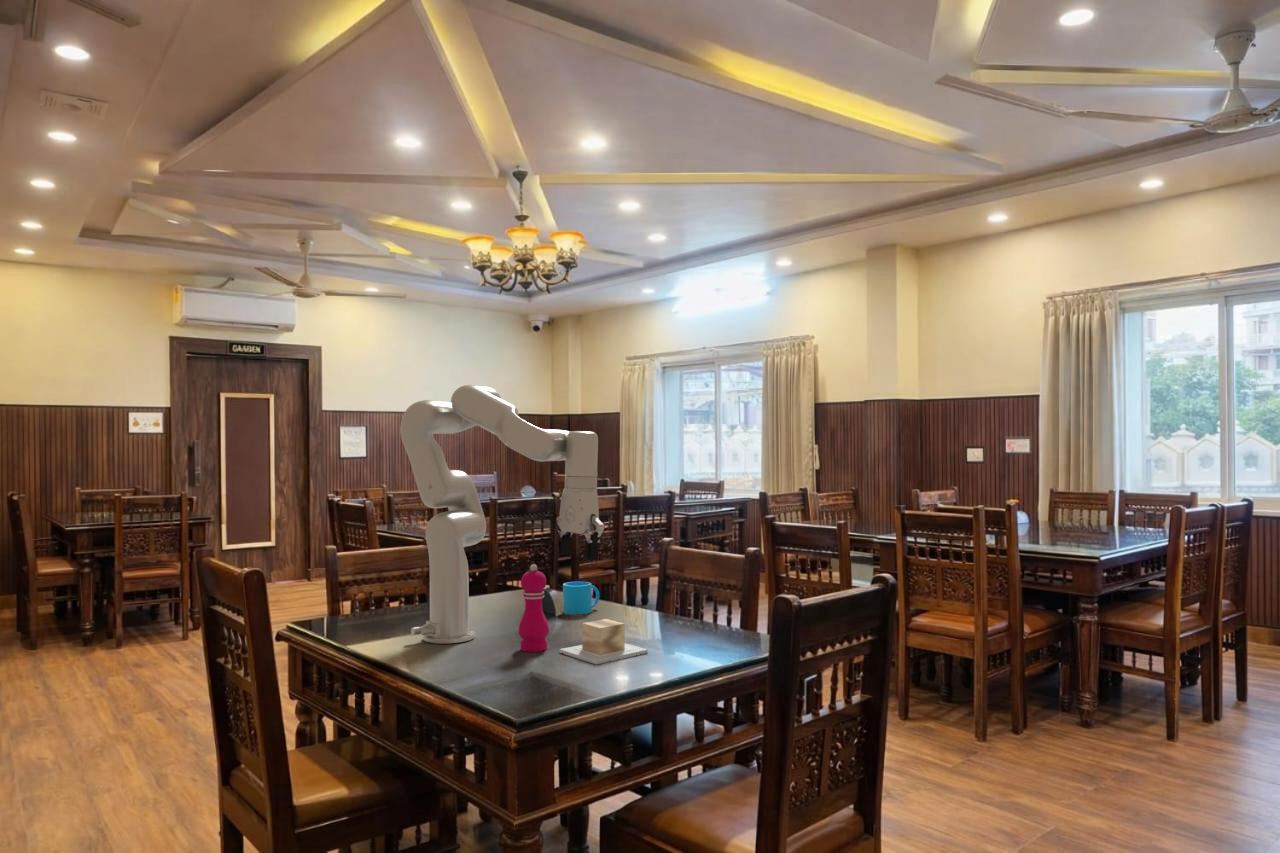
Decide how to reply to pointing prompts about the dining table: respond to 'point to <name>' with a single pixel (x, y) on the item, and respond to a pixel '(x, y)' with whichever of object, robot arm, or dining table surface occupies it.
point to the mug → (578, 597)
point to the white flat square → (597, 658)
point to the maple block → (603, 636)
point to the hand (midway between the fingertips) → (578, 556)
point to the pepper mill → (533, 612)
